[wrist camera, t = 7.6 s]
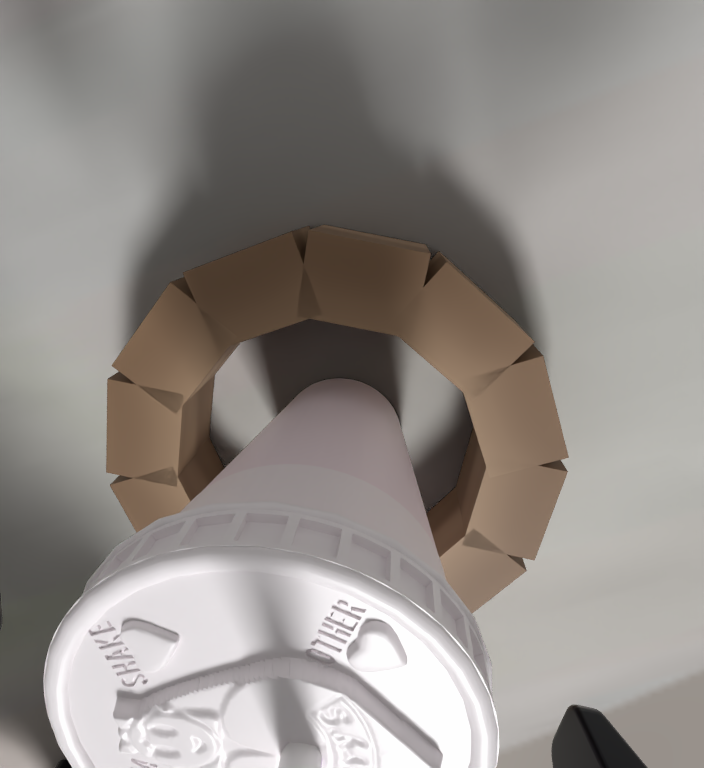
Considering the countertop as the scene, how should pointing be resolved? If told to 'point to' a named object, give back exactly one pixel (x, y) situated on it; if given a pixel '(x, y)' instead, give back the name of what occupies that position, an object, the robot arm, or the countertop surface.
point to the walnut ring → (359, 310)
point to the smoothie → (281, 617)
